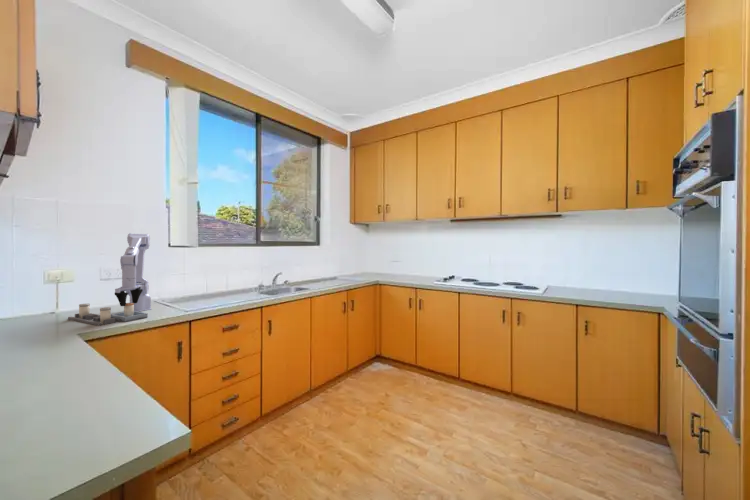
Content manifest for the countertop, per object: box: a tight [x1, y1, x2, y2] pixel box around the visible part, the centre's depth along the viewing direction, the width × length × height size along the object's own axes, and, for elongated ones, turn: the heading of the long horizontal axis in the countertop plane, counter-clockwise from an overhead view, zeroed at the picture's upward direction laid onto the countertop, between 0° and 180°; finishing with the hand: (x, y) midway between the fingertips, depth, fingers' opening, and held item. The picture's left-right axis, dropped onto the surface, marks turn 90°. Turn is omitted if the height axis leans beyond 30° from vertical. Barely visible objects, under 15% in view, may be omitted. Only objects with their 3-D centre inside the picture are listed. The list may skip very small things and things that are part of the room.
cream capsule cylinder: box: [78, 303, 91, 319], centre depth 165 cm, size 4×4×7 cm
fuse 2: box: [99, 306, 112, 324], centre depth 158 cm, size 4×4×7 cm
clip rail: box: [67, 312, 122, 327], centre depth 161 cm, size 10×26×2 cm, turn 67°
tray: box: [111, 311, 149, 323], centre depth 167 cm, size 11×13×2 cm
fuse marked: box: [123, 302, 134, 317], centre depth 167 cm, size 4×4×7 cm
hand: (129, 304), depth 167 cm, fingers open, 7 cm apart
